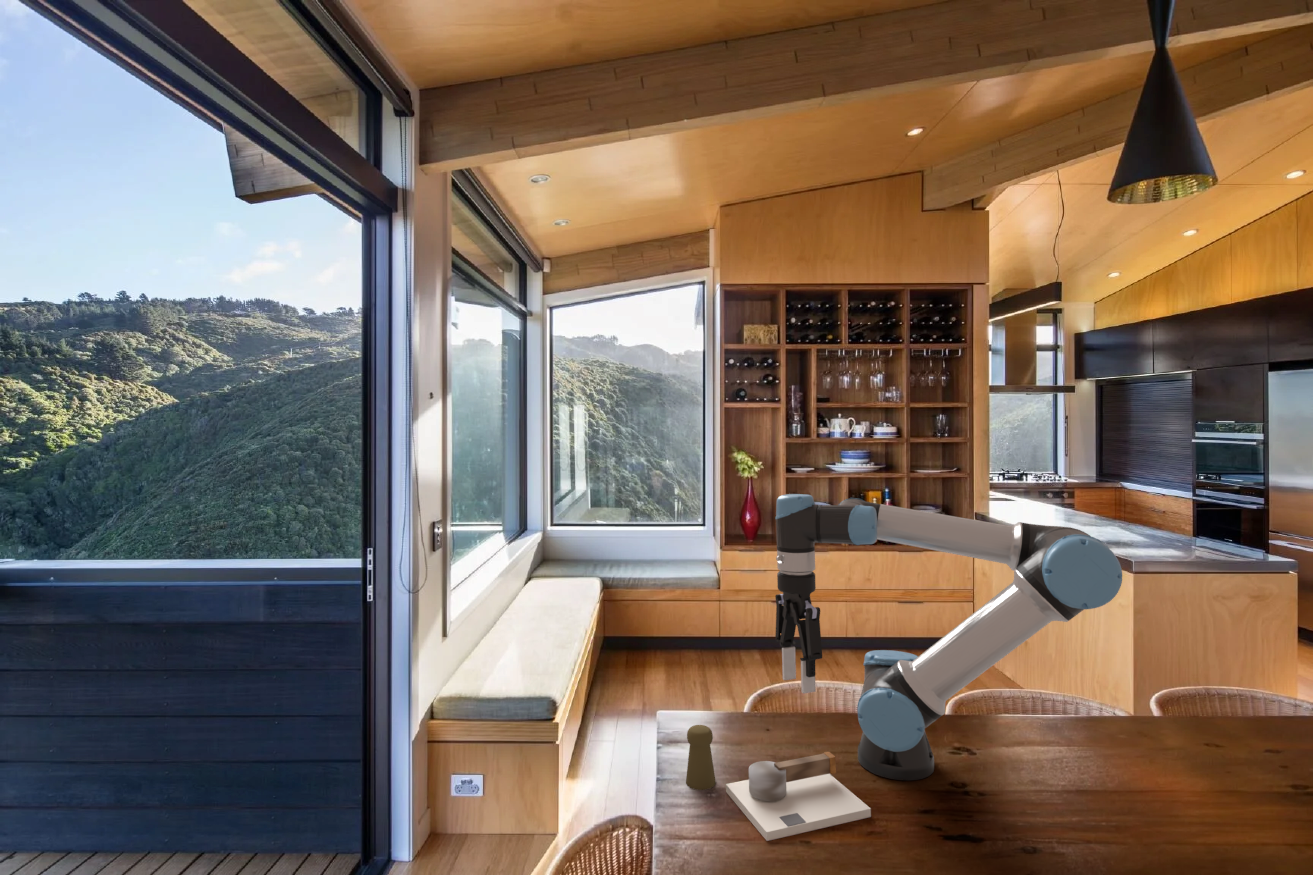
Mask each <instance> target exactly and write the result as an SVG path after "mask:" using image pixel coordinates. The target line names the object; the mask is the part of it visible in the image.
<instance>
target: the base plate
mask: <svg viewBox="0 0 1313 875" xmlns="http://www.w3.org/2000/svg"><path fill="white" fill-rule="evenodd" d="M725 792H726V794H727V795H728V796H729V797H730V799H731V800H732V801H733V802H734V804H736V806H737V807H738V808H739V809H740V810H741V812H742V813H743V814H744V815H745V816H746V818H747V819H748V821H750V823H752V825H753V826H754V827H755V829H756V830H757V831H758V832H759V833H760V835H761V836H762V837H763V838H764V839H765V841H767V842H768V841H772V840H777V839H781V838H785V837H790V836H794V835H799V834H802V833H807V832H811V831H816V830H820V829H824V828H828V827H833V826H838V825H841V824H846V823H851V822H854V821H859V820H863V819H867V818H871V817H872V808H871V807H869V806H868V804H866V803H865V802H863V800H861V799H860V798H859V797H857V795H855V794H854V793H853V792H852V791H851V790H850V789H848V788H847V787H846V786H845V785H844V784H842V783H841V782H840V781H839V780H837V779H836V778H835V777H834V776H833V775H832V774H825V775H820V776H815V777H810V778H805V779H800V780H795V781H791V782H786V792H787V793H786V796H785V797H784V798H782V799H780V800H776V801H764V800H760V799H757V798H755V797H753V796H752V795H751V794H750V792H749V779H743V780H741V781H735V782H730V783H726V784H725Z"/></svg>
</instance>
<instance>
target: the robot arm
mask: <svg viewBox="0 0 1313 875" xmlns="http://www.w3.org/2000/svg"><path fill="white" fill-rule="evenodd" d="M814 499H815V498H814V496H813V495H811V494H807V493H806V494H802V493H801V494H800V493H789V494H787V493H786V494H782V495H780V496H778V498H776V510H775V511H776V512H775V515H776V516H775V528H776V557H775V559H776V564H777V565H776V566H777V567H776V568H777V569H778V572H777V576H776V577H777V578H776V579H777V590H778V591H780V593H779V594H775V606H776V610H775V612H776V614H775V641H776V642H779V646H780V647H781V660H782V661H781V662H782V664H781V667H782V680H783V681H790V680H791V681H792V680H797V665H796V664H797V663H796V647H795V646H796V644H797V642H795V641H794V639H795V634H796V629H797V632H798V637H799V642H800V647H801V653H802V657H800V659H799V660H800V680H801V681H800V683H801V684H800V685H801V692H800V693H802V694H809V693H815V692H816V691H817V690H816V674H817V673H816V661H817V660H822V658H823V647H822V646H823V645H822V635H821V622H820V618H821V608H820V607H819V606H817V607H816V606H813V605H812V599H811V594H812V593H815V591H816V573H815V572H814V571H815V570H816V551H815V550H816V549H815V548H816V547H815V544H816V543H818V544H819V543H820V544H823V543H825V544H826V543H827V544H843V545H844V544H845V545H855V546H860V545H873V544H875V543H876V542H877V540H879V541H883V542H884V541H885V542H890V543H895V544H900V545H906V546H910V547H914V548H915V547H916V548H921V549H926V550H932V551H937V552H942V553H947V554H952V555H957V556H958V555H959V556H962V557H968V558H973V559H979V560H984V561H989V562H995V563H998V564H999V563H1000V564H1003V565H1004V564H1005V565H1007V566H1008V568H1010V569H1011V571H1013V579H1012V580H1013V581H1012V582H1011V583H1010V584H1009V585H1007V586H1006V587H1005V588H1004V589H1003V590H1001V591H1000V592H998V593H997V594H996V595H995V596H993V597H992V598H991V599H990V600H988V601H987V602H986V603H985V604H983V605H982V606H981V607H980V608H978V609H977V610H976V611H974V612H973V613H972V614H970V615H969V616H968V617H966V619H964V620H963V621H962V622H960V623H958V625H957V626H956V627H954V628H953V629H952V630H950V631H949V632H948V633H947V634H945V635H944V636H943V637H941V638H940V639H939V640H938V641H936V642H935V643H933V644H932V646H930V647H928V649H926V650H925V651H923V652H922V654H920V655H917V654H913V653H910V652H906V651H900V650H899V651H898V650H889V649H888V650H887V649H880V650H879V649H877V650H870V651H868V652H866V653H865V655H864V660H863V666H864V680H863V685H862V688H861V694H860V697H859V699H858V702H857V711H856V712H857V720H858V723H859V726H860V728H861V731H862V734H861V738H860V742H859V744H858V746H857V761H858V762H859V765H861V766H862V767H863V768H864V769H865V770H867V771H868V772H870V773H872V774H874V775H877V776H879V777H883V778H886V779H891V780H897V781H917V780H922V779H925V778H927V777H930V776H931V775H932V774H933V773H934V770H935V757H934V753H933V750H932V748H931V745H930V742H929V739H928V736H927V734H926V728H928V727H929V726H931V725H932V724H933V723H935V722H936V721H937V720H939V719H940V718H941V717H942V716H943V715H945V713H946V701H948V700H949V699H951V698H952V697H953V696H954V695H956V694H957V693H959V691H961V690H963V688H965V687H966V686H968V685H969V684H970V683H971V682H973V681H974V680H976V679H977V678H978V677H980V676H982V675H983V673H985V672H986V671H987V670H989V669H990V668H991V667H993V666H995V664H997V663H998V662H1000V661H1001V660H1002V659H1004V658H1005V657H1006V656H1007V655H1009V654H1010V653H1011V652H1013V651H1014V650H1015V649H1017V648H1018V647H1020V646H1021V645H1022V644H1023V643H1025V642H1026V641H1027V640H1029V639H1030V638H1031V637H1033V636H1034V635H1036V634H1037V633H1038V632H1039V631H1041V630H1042V629H1044V627H1046V626H1047V625H1049V624H1050V623H1051V622H1054V621H1055V622H1063V623H1068V622H1069V621H1071V620H1072V619H1074V617H1076V616H1078V615H1079V614H1080V613H1081V612H1083V611H1084V610H1093V609H1097V608H1100V607H1103V606H1105V605H1106V604H1107V605H1108V603H1110V602H1111V601H1113V600H1114V598H1115V597H1116V596H1117V595H1118V593H1119V591H1120V590H1121V587H1122V584H1123V570H1122V566H1121V563H1120V561H1119V559H1118V558H1117V556H1116V555H1115V553H1114V551H1112V550H1111V549H1110V547H1109V546H1108V545H1106V544H1105V543H1104V542H1102V541H1101V540H1100V539H1098V538H1096V537H1093V536H1091V535H1090V534H1089V533H1086V532H1085V531H1083V530H1080V529H1078V528H1076V527H1075V528H1074V527H1071V526H1070V527H1069V526H1061V525H1060V526H1058V525H1045V524H1033V523H1028V522H1020V521H1018V522H1017V523H1015V524H1013V525H1007V524H1002V523H995V522H990V521H989V522H988V521H983V520H979V519H978V520H977V519H973V518H967V517H965V518H964V517H959V516H954V515H948V514H942V513H937V512H936V513H935V512H929V511H925V510H924V511H923V510H918V509H912V508H905V507H901V506H895V505H889V504H882V503H876V502H872V501H871V502H870V501H865V500H863V499H862V498H856V497H850V498H846V499H844V500H842V501H841V502H840V503H838V504H837V505H836V504H835V505H834V504H833V505H831V504H829V505H825V504H824V505H823V504H816V502H815V501H814ZM781 592H782V593H781Z"/></svg>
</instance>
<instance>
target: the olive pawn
mask: <svg viewBox="0 0 1313 875" xmlns="http://www.w3.org/2000/svg"><path fill="white" fill-rule="evenodd" d="M713 738H714V736H713V730H712V729H711V728H710V727H708V726H707V725H705V724H694V725H692V726H690V727H689V728H688V730H687V732H686V739H687V743H688V744H689V749H688V750H689V751H688V759H687V769H686V777H685V785H686V786H687V787H689V788H691V789H693V790H695V791H696V790H697V791H705V790H710V789H712V788H713V787H714V786H715V785H716V783H717V780H716V775H715V769H714V762H713V754H712V748H711V744H712V742H713Z"/></svg>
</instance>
